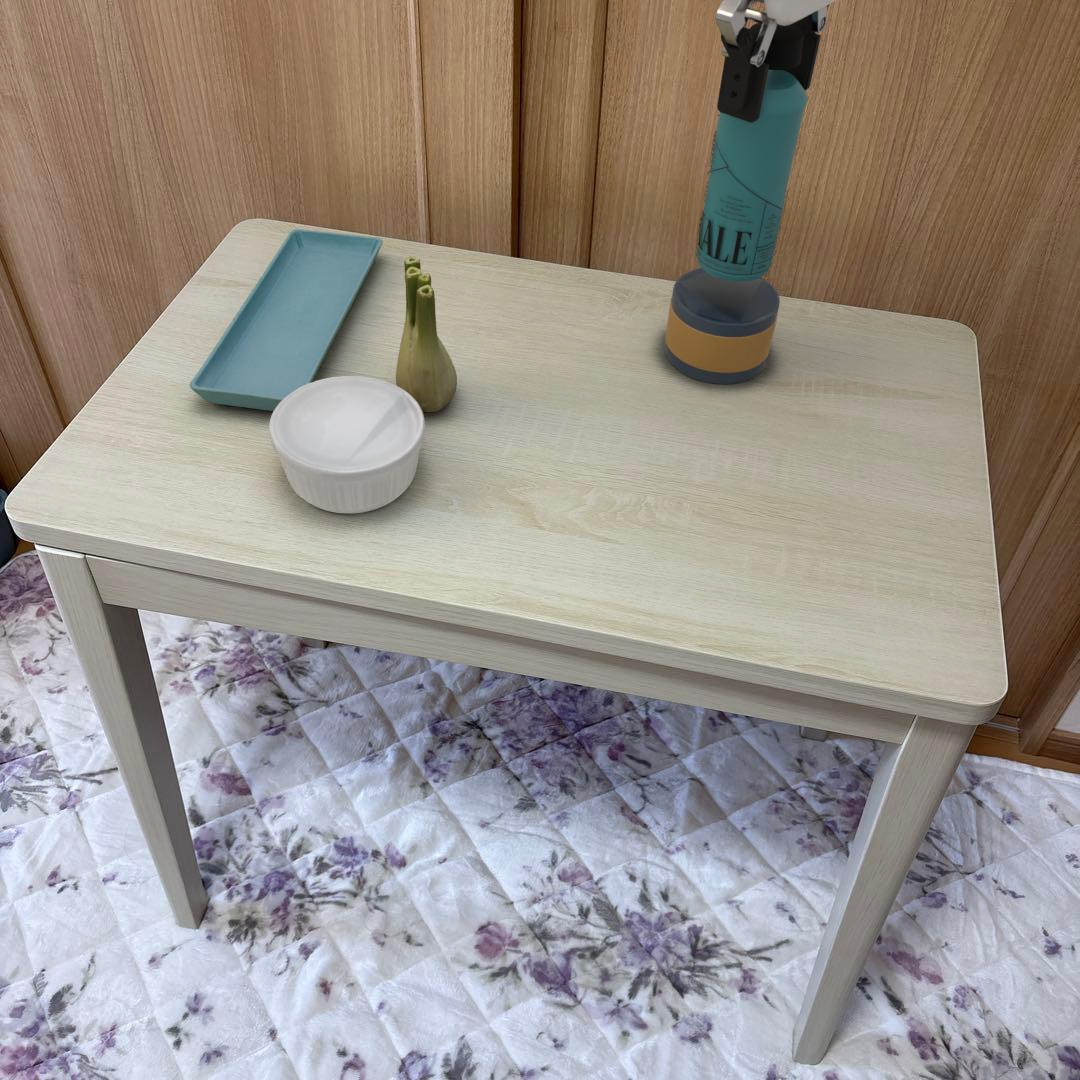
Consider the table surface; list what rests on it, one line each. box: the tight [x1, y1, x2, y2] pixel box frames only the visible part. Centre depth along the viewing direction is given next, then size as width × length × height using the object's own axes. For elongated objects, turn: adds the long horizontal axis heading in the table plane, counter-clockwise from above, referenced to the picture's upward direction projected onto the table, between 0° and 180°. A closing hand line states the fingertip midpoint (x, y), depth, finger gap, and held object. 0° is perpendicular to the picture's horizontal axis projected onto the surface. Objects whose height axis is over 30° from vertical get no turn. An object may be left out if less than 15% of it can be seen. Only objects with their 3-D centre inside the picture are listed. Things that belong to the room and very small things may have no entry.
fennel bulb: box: [395, 255, 458, 413], centre depth 83 cm, size 6×5×12 cm
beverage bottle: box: [695, 22, 808, 282], centre depth 81 cm, size 6×7×20 cm
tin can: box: [664, 267, 781, 385], centre depth 91 cm, size 9×9×6 cm
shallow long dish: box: [189, 228, 384, 412], centre depth 93 cm, size 26×9×2 cm, turn 171°
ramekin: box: [268, 375, 426, 514], centre depth 78 cm, size 11×11×5 cm
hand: (764, 98), depth 77 cm, fingers closed on beverage bottle, 6 cm apart
